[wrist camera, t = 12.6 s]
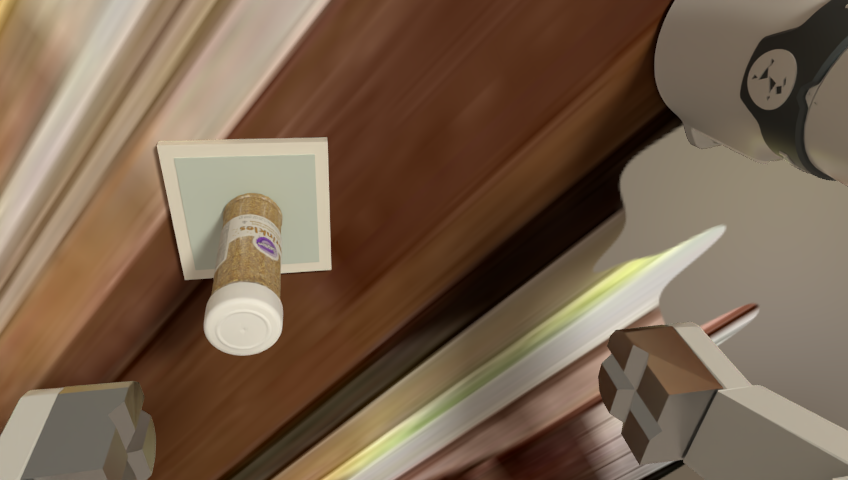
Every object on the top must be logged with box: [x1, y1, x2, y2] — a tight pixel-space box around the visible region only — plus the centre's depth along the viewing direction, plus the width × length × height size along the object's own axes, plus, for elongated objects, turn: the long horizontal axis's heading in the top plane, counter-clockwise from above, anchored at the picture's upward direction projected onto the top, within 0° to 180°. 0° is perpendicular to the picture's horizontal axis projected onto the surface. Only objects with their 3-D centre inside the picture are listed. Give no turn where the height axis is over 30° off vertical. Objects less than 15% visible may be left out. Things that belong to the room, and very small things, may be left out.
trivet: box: [157, 137, 331, 280], centre depth 45 cm, size 12×12×1 cm
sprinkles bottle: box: [204, 193, 283, 355], centre depth 39 cm, size 5×5×14 cm
